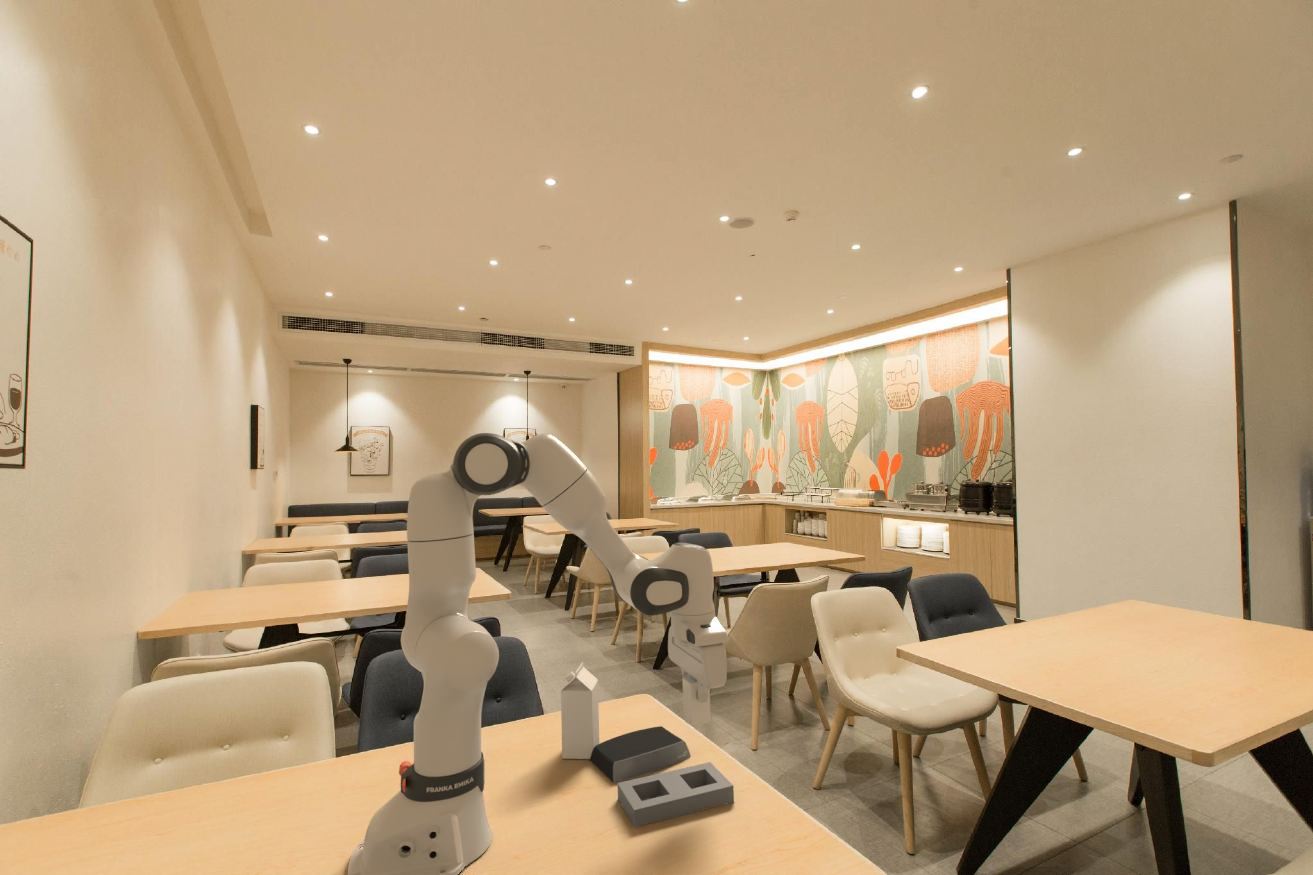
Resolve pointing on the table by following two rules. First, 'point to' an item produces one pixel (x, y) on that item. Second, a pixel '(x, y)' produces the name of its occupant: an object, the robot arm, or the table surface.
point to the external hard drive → (638, 753)
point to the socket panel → (674, 793)
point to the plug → (694, 703)
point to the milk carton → (579, 715)
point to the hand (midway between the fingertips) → (696, 696)
